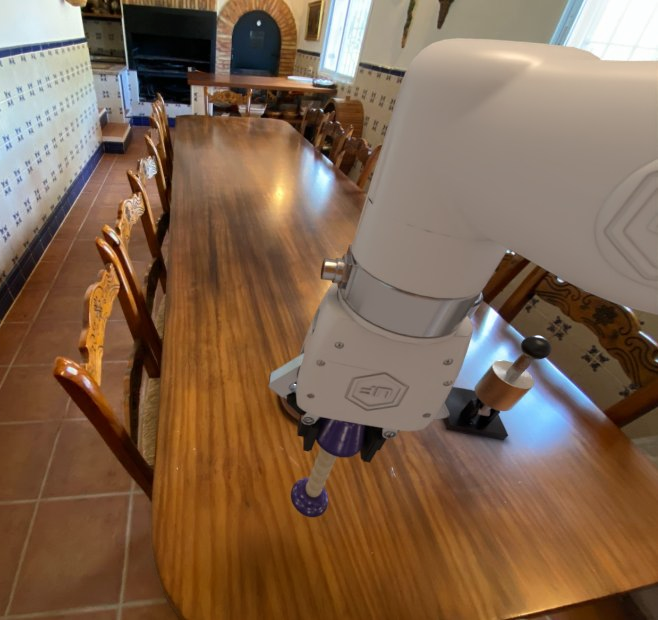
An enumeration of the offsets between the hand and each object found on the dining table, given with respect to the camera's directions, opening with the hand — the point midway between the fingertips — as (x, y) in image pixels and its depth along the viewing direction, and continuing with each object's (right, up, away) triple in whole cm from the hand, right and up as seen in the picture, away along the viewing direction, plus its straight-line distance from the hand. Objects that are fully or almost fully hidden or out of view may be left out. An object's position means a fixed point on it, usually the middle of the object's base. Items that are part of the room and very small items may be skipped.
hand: (335, 441), depth 34 cm
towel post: (+35, -6, +31) cm, 47 cm away
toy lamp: (-1, -9, +8) cm, 12 cm away
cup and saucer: (+5, -5, +34) cm, 35 cm away
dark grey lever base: (+35, -7, +34) cm, 50 cm away
